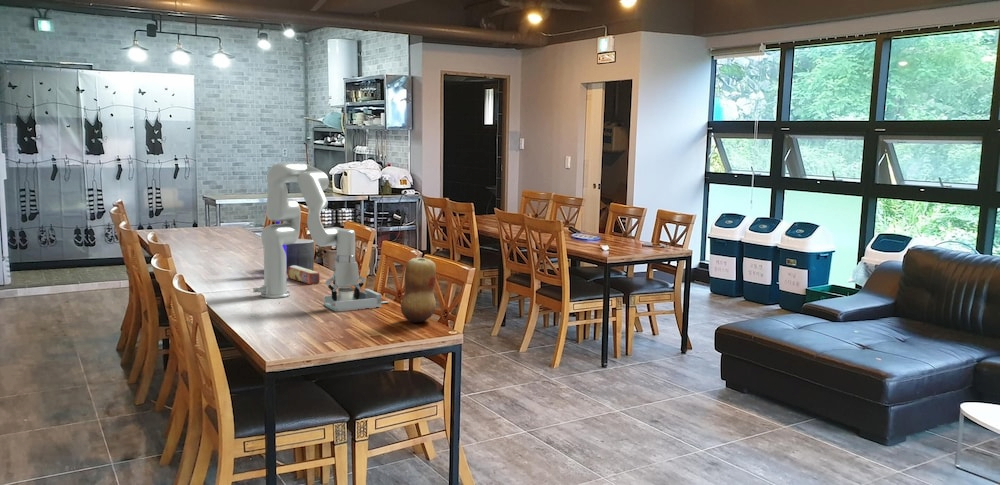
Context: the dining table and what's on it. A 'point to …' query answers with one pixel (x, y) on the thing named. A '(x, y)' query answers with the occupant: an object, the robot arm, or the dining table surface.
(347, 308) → the grey tray
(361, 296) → the pusher
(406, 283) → the butternut squash
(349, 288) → the jar
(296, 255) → the planter
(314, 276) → the snack package
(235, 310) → the dining table surface
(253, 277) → the dining table surface
